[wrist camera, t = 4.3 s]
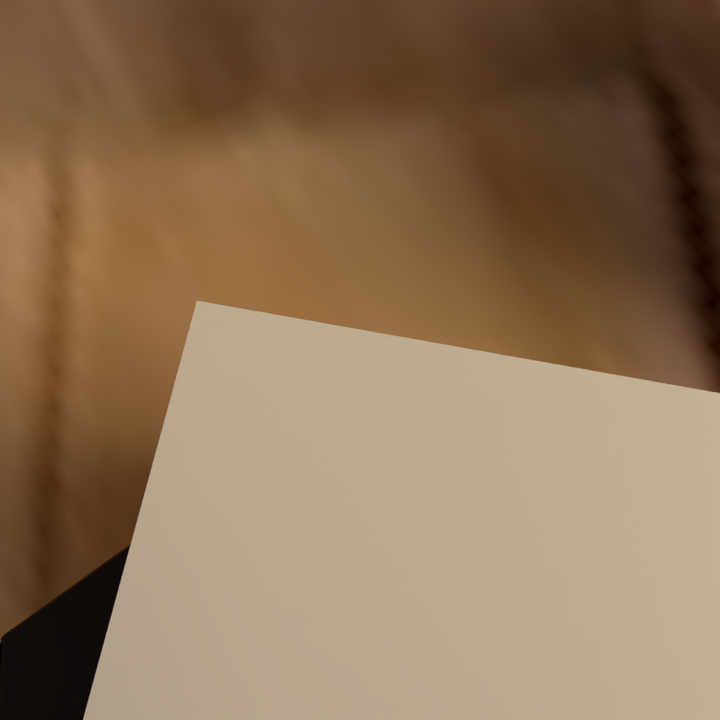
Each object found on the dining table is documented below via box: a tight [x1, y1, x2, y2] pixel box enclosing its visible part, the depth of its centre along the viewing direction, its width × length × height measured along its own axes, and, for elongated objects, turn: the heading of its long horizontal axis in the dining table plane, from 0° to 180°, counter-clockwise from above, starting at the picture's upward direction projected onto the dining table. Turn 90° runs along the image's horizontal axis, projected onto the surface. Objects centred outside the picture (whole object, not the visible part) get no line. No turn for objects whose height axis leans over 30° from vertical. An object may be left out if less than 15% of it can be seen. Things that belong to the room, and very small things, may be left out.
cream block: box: [83, 301, 720, 720], centre depth 9 cm, size 5×5×11 cm
